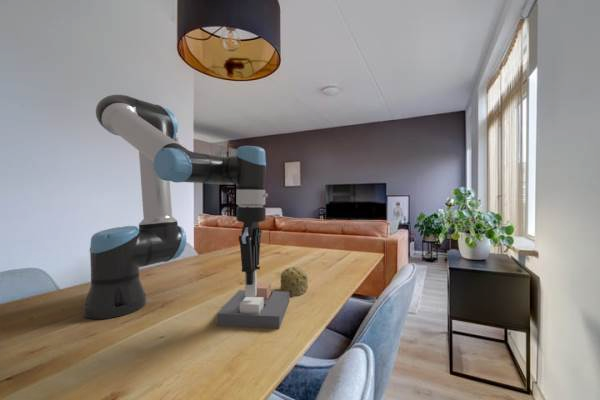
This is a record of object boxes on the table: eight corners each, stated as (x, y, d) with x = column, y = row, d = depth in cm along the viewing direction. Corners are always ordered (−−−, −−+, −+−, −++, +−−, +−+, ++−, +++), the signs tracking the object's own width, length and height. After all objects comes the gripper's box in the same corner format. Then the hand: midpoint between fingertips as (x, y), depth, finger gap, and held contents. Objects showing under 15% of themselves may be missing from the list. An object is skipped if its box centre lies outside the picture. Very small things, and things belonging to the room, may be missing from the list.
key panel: (216, 325, 67) (216, 313, 67) (239, 299, 84) (239, 290, 84) (279, 328, 65) (279, 316, 65) (289, 301, 82) (289, 291, 82)
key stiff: (250, 299, 77) (250, 287, 77) (254, 293, 82) (254, 282, 82) (267, 300, 76) (267, 288, 76) (270, 294, 81) (270, 282, 81)
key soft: (239, 317, 68) (239, 303, 68) (245, 309, 73) (245, 296, 73) (258, 318, 67) (258, 304, 67) (263, 310, 72) (263, 297, 72)
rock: (276, 301, 92) (270, 281, 87) (290, 277, 100) (285, 257, 95) (301, 308, 88) (296, 287, 83) (313, 282, 96) (310, 262, 91)
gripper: (258, 207, 63) (258, 306, 64) (270, 205, 76) (270, 287, 76) (228, 207, 64) (227, 304, 64) (245, 205, 77) (244, 286, 77)
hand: (250, 295), depth 70 cm, fingers closed
